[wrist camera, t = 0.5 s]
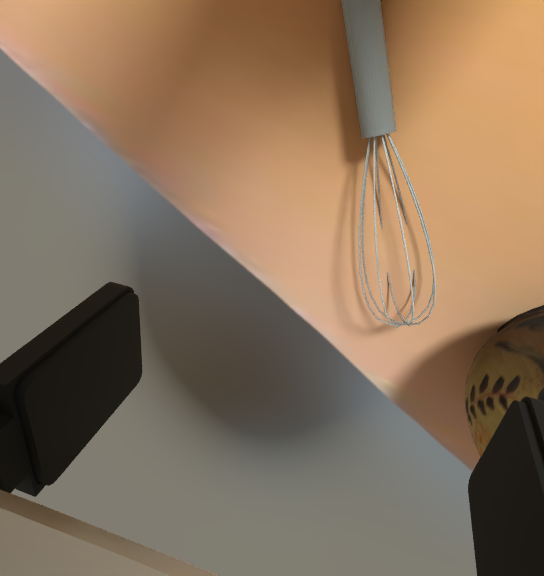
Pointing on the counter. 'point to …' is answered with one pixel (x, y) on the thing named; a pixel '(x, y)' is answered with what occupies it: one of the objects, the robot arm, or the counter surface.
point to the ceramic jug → (505, 374)
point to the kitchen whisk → (376, 118)
